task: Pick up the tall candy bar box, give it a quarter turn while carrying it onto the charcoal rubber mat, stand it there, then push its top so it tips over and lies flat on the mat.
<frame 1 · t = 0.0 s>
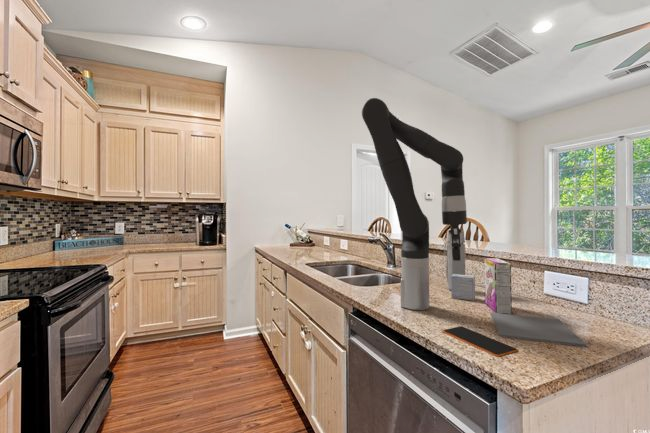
hand: (456, 258, 101), 17 cm above the worktop, tool pointing down, fingers open, 8 cm apart
smartphone: (477, 342, 77), on the worktop
medicine box: (463, 298, 116), on the worktop
rubber mat: (531, 328, 84), on the worktop
candy bar box: (497, 309, 102), on the worktop
water bottle: (453, 290, 129), on the worktop
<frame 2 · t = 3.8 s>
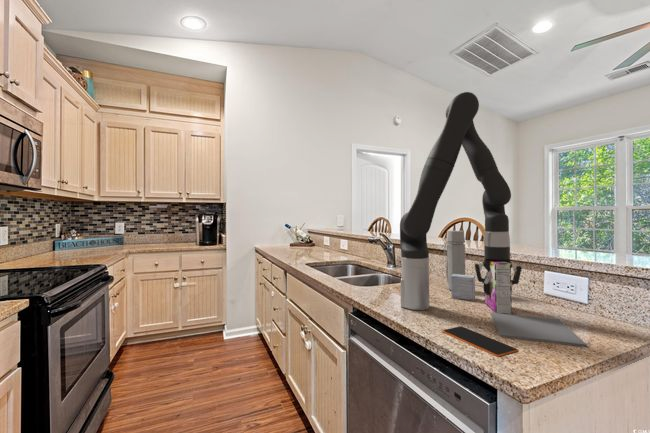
hand: (497, 295, 102), 5 cm above the worktop, tool pointing down, fingers closed on candy bar box, 5 cm apart
candy bar box: (497, 309, 102), on the worktop, touching gripper
everything else where it was.
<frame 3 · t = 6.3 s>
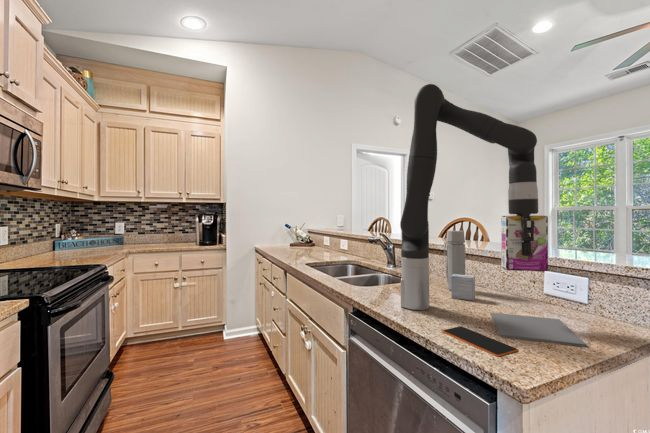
hand: (524, 254, 91), 20 cm above the worktop, tool pointing down, fingers closed on candy bar box, 5 cm apart
candy bar box: (524, 270, 91), point 15 cm above the worktop, touching gripper
everything else where it was.
when the fingers open (7 cm above the worktop, at t = 9.3 s): candy bar box drops 1 cm, resting on rubber mat.
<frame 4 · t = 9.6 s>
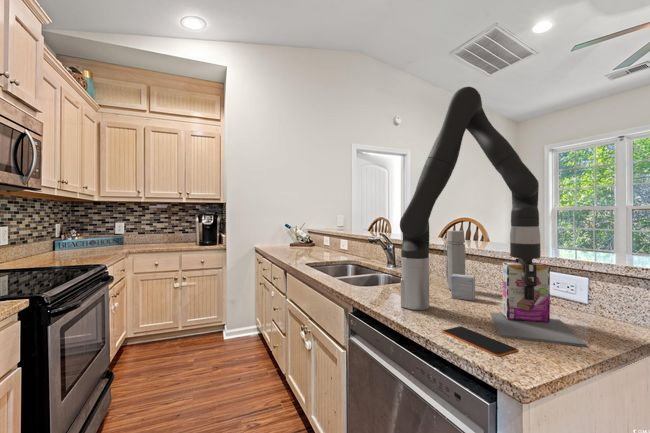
hand: (525, 296, 90), 7 cm above the worktop, tool pointing down, fingers open, 8 cm apart
candy bar box: (525, 319, 90), resting on rubber mat
everything else where it was.
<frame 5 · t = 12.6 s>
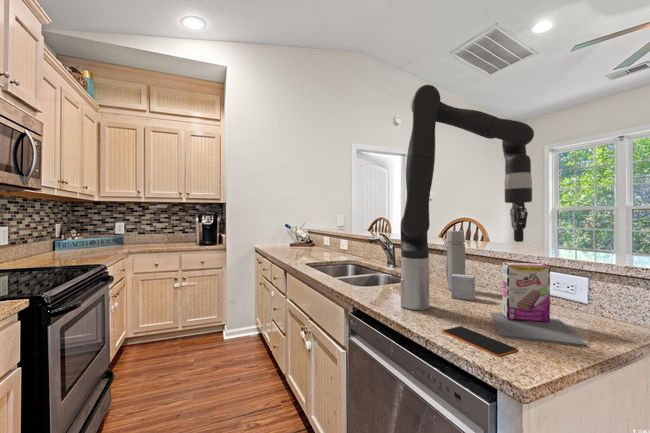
hand: (518, 241, 98), 23 cm above the worktop, tool pointing down, fingers closed
nothing on the worktop moved.
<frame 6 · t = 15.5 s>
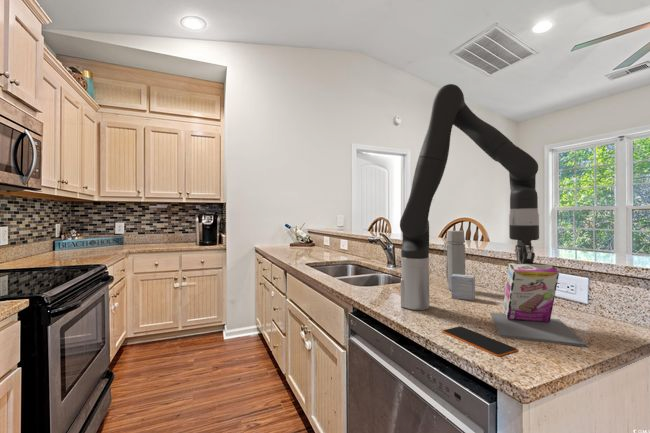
hand: (524, 281, 91), 12 cm above the worktop, tool pointing down, fingers closed
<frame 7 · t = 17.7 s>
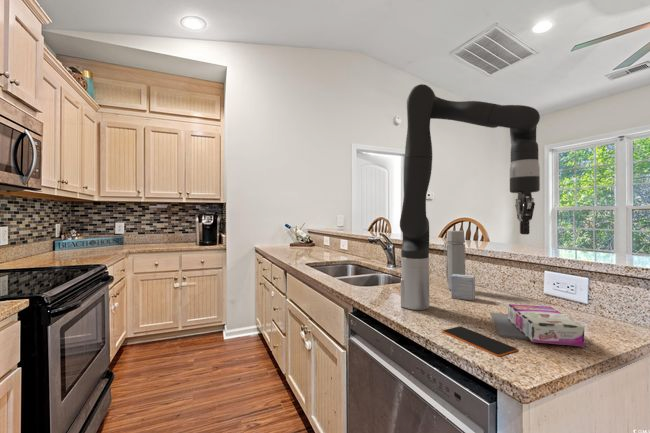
hand: (524, 234, 91), 26 cm above the worktop, tool pointing down, fingers closed
candy bar box: (528, 313, 88), point 3 cm above the worktop, touching rubber mat
everything else where it was.
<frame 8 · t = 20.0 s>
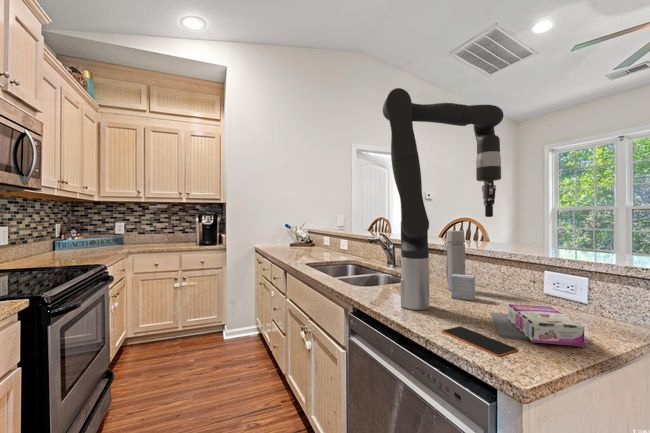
hand: (489, 216, 104), 31 cm above the worktop, tool pointing down, fingers closed
nothing on the worktop moved.
at the end: candy bar box tilted 89°; candy bar box inside the target area (0.2 cm from its centre), point 3.0 cm above the worktop; the gripper is holding nothing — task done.
